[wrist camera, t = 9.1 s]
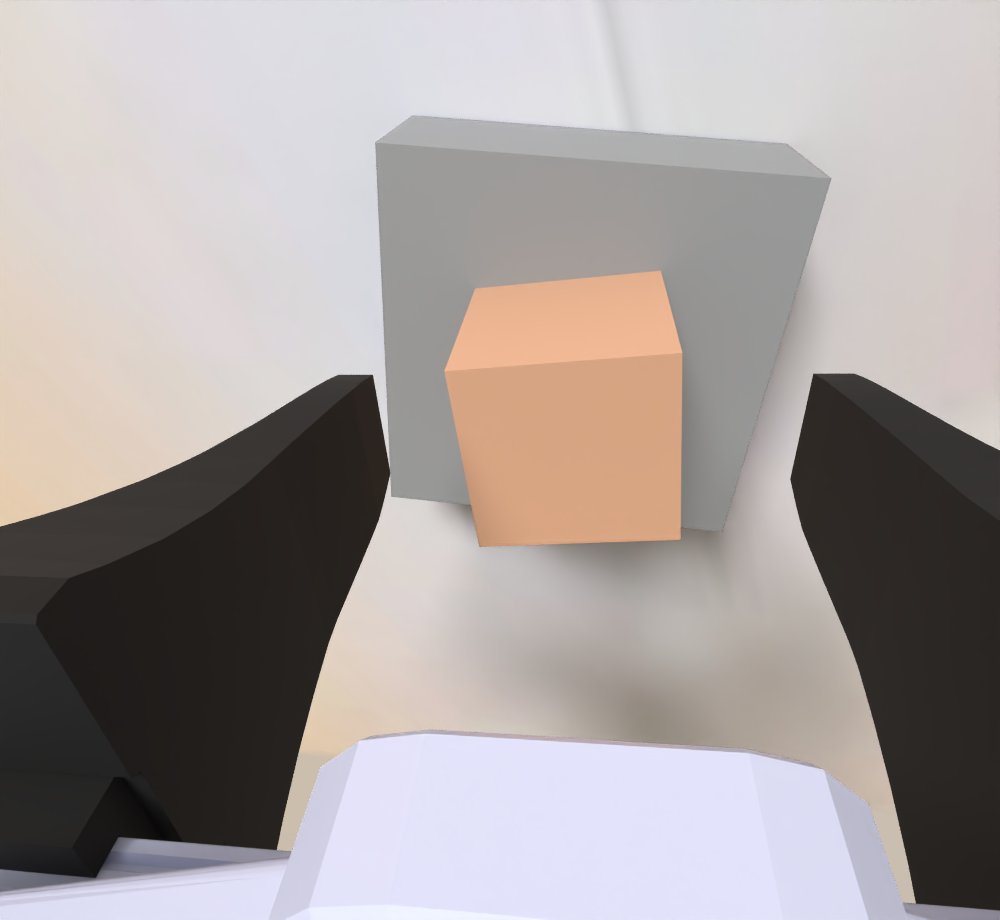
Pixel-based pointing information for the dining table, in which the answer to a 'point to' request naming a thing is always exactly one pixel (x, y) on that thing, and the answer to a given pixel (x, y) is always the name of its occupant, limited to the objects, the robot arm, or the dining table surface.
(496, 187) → the base block
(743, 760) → the robot arm
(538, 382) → the peach block
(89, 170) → the dining table surface
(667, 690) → the dining table surface
